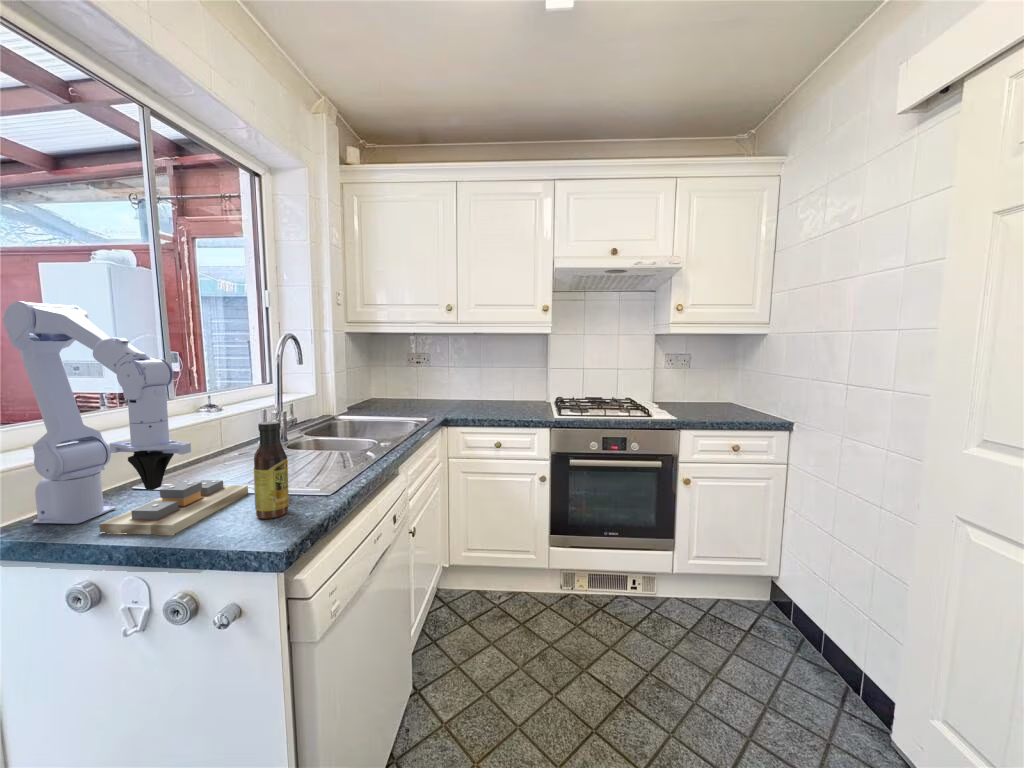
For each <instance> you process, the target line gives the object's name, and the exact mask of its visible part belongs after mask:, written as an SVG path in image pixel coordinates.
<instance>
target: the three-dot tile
mask: <svg viewBox="0 0 1024 768" xmlns="http://www.w3.org/2000/svg"><path fill="white" fill-rule="evenodd" d="M198 482H202V490H201V496H210V495H212V494H214V493H216V492H218V491H220V490H222V488H223V485H224V480H218V479H217V480H215V479H214V480H212V479H211V480H208V479H205V480H204V479H202V480H200V481H198Z"/></svg>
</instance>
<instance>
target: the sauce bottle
mask: <svg viewBox="0 0 1024 768" xmlns="http://www.w3.org/2000/svg"><path fill="white" fill-rule="evenodd" d="M258 431H259V440H258V442H260V446H259V448H258V447H257V449H256V451H255V452H254V456H253V463H254V464H253V466H254V467H253V487H254V509H255V515H256V517H257V519H261V520H266V519H267V520H270V519H275V518H279V517H282V516H283V515H286V514H287V512H288V511H289V505H290V502H289V501H290V500H289V499H290V498H289V497H290V496H289V469H288V468H289V467H288V466H289V465H288V456H287V454H286V451H285V449H284V447H283V445H282V443H281V422H280V421H274V420H272V421H264V422H263V421H262V422H259V423H258Z"/></svg>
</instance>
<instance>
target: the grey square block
mask: <svg viewBox="0 0 1024 768" xmlns="http://www.w3.org/2000/svg"><path fill="white" fill-rule="evenodd" d="M152 501H153V500H152ZM149 502H150V503H149ZM149 502H147V503H148V504H146V503H145V504H146V505H144V504H142V505H143V506H142V505H140V506H141V507H139V506H138V507H139V508H137V507H135V508H136V509H135V508H133V509H134V510H132V509H131V510H132V511H131V512H132V520H134V521H159V520H161V519H163V518H165V517H167V516H169V515H171V514H173V513H175V512H177V510H178V508H179V507H178V501H153V502H151V501H149Z"/></svg>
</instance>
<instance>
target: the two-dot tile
mask: <svg viewBox="0 0 1024 768" xmlns="http://www.w3.org/2000/svg"><path fill="white" fill-rule="evenodd" d="M201 490H202V482H199V481H177V482H174V483H173V484H170V485H168V486H164V487H163V488H160V489H159V498H162V501H178V506H179V507H187V506H186V505H188V504H190V503H192V502H194V501H196V500H198V499H200V498H201Z"/></svg>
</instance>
